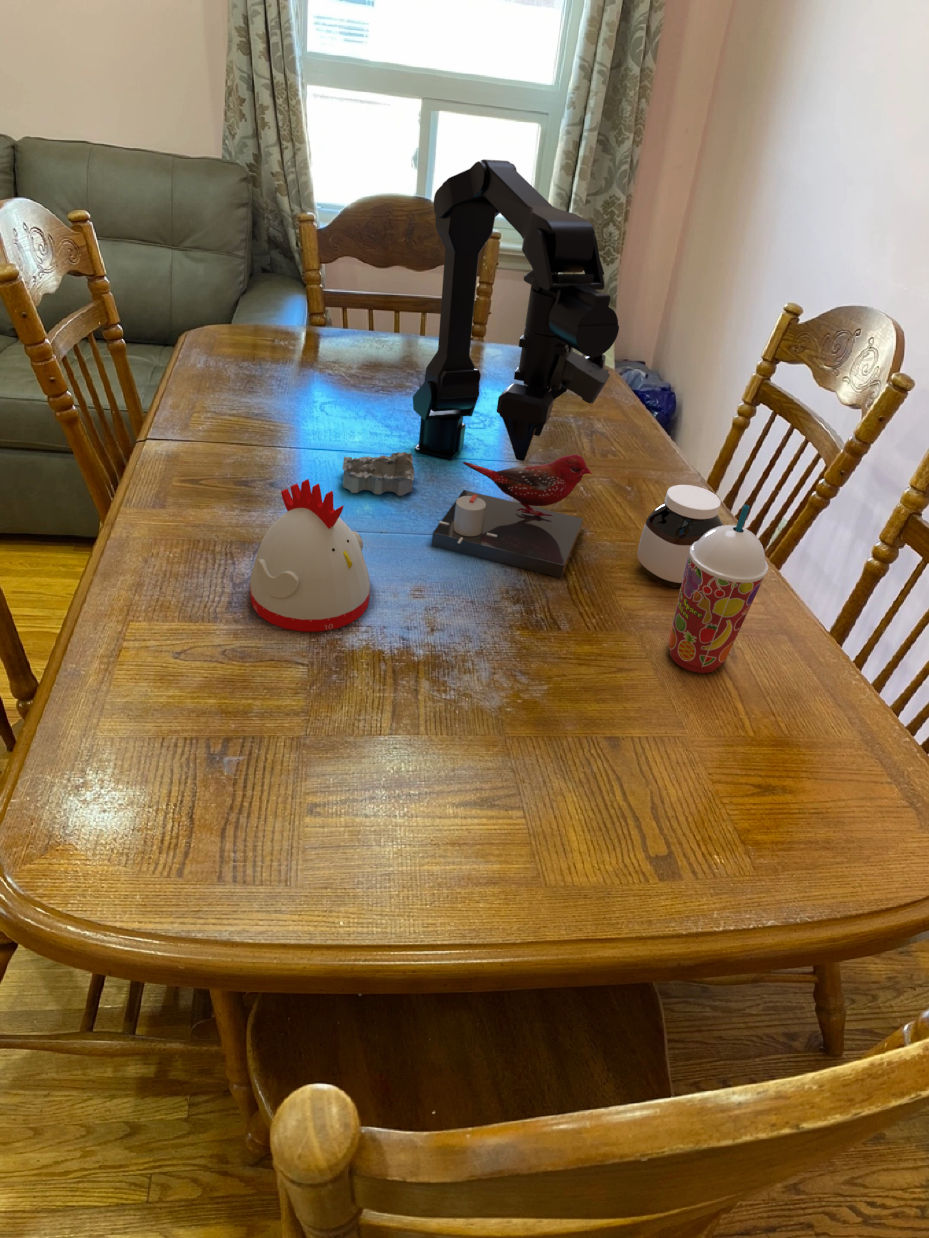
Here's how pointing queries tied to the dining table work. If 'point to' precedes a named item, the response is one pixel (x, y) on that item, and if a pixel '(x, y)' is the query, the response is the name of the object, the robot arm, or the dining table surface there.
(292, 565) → the kitchen timer
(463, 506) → the stove knob
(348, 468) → the egg carton
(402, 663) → the dining table surface
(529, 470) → the decorative bird figurine
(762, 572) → the smoothie
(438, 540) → the stove
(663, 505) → the spread jar
